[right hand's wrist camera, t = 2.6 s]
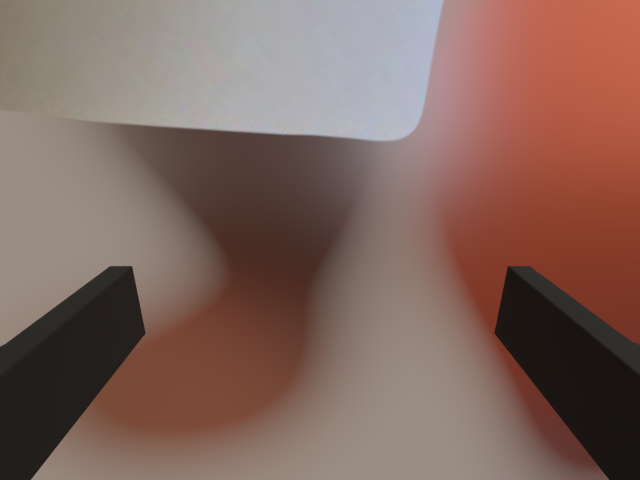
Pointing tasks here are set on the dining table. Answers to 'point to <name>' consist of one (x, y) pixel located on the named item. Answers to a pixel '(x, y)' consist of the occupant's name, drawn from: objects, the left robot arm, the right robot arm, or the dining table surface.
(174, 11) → the dining table surface
